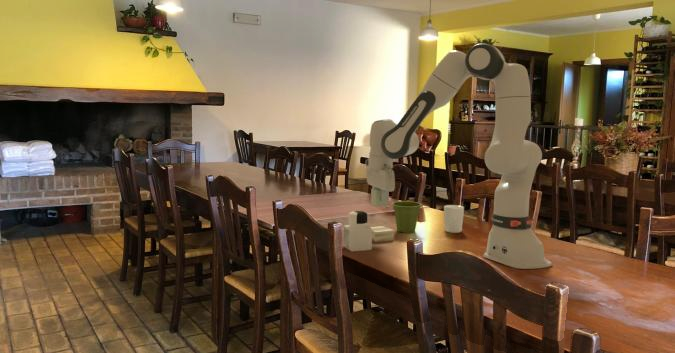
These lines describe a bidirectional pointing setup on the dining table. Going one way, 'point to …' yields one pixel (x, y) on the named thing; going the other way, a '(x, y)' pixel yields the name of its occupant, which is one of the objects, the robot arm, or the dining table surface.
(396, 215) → the plant pot
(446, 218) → the white cup
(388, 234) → the beech block
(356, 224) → the container
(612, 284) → the dining table surface
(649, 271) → the dining table surface
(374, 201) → the sage block
